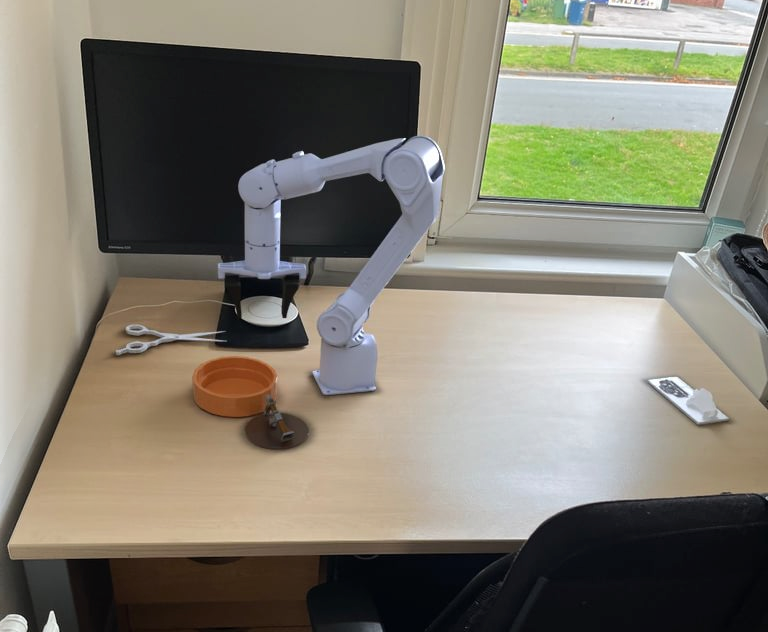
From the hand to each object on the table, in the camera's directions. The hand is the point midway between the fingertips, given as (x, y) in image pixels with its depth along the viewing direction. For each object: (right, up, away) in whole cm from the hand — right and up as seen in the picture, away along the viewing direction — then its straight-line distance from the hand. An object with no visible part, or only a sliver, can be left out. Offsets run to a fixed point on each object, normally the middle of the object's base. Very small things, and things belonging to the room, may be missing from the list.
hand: (261, 315), depth 143 cm
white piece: (+76, -14, +8) cm, 78 cm away
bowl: (-4, -14, -5) cm, 16 cm away
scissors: (-18, -3, +9) cm, 20 cm away
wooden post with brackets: (+4, -20, -13) cm, 24 cm away
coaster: (+4, -20, -12) cm, 24 cm away
